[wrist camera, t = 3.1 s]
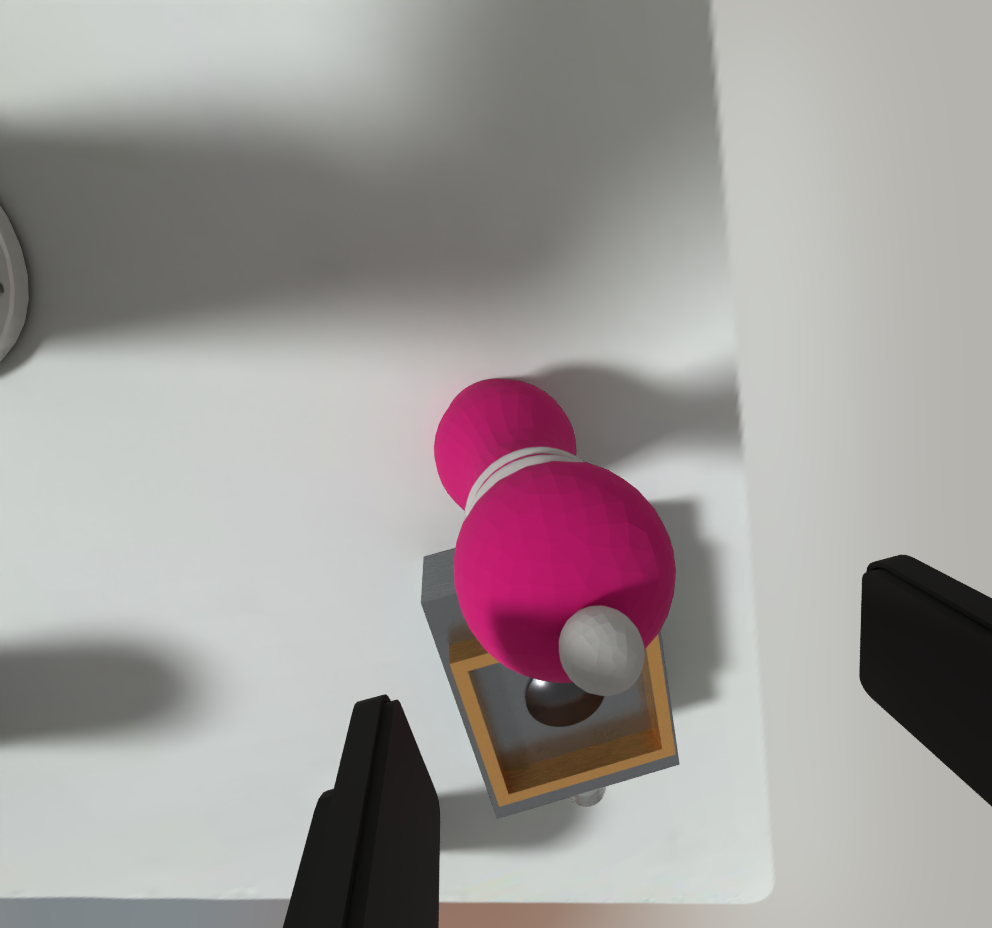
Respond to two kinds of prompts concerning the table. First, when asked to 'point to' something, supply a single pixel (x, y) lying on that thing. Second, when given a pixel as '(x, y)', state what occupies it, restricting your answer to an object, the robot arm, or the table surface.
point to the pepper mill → (550, 543)
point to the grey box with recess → (546, 715)
